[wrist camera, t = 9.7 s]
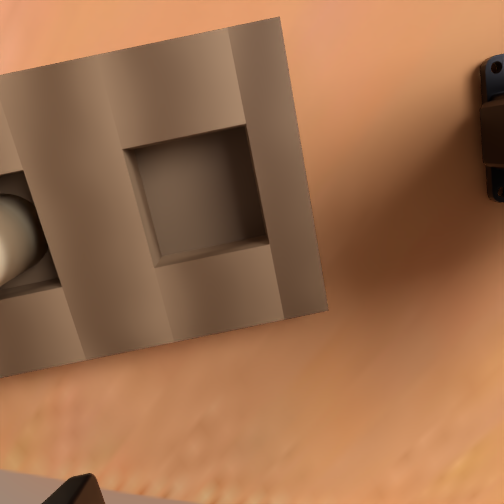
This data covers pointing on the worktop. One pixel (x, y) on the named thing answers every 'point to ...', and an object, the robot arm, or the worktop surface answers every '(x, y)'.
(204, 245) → the bore block
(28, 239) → the pin
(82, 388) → the worktop surface
